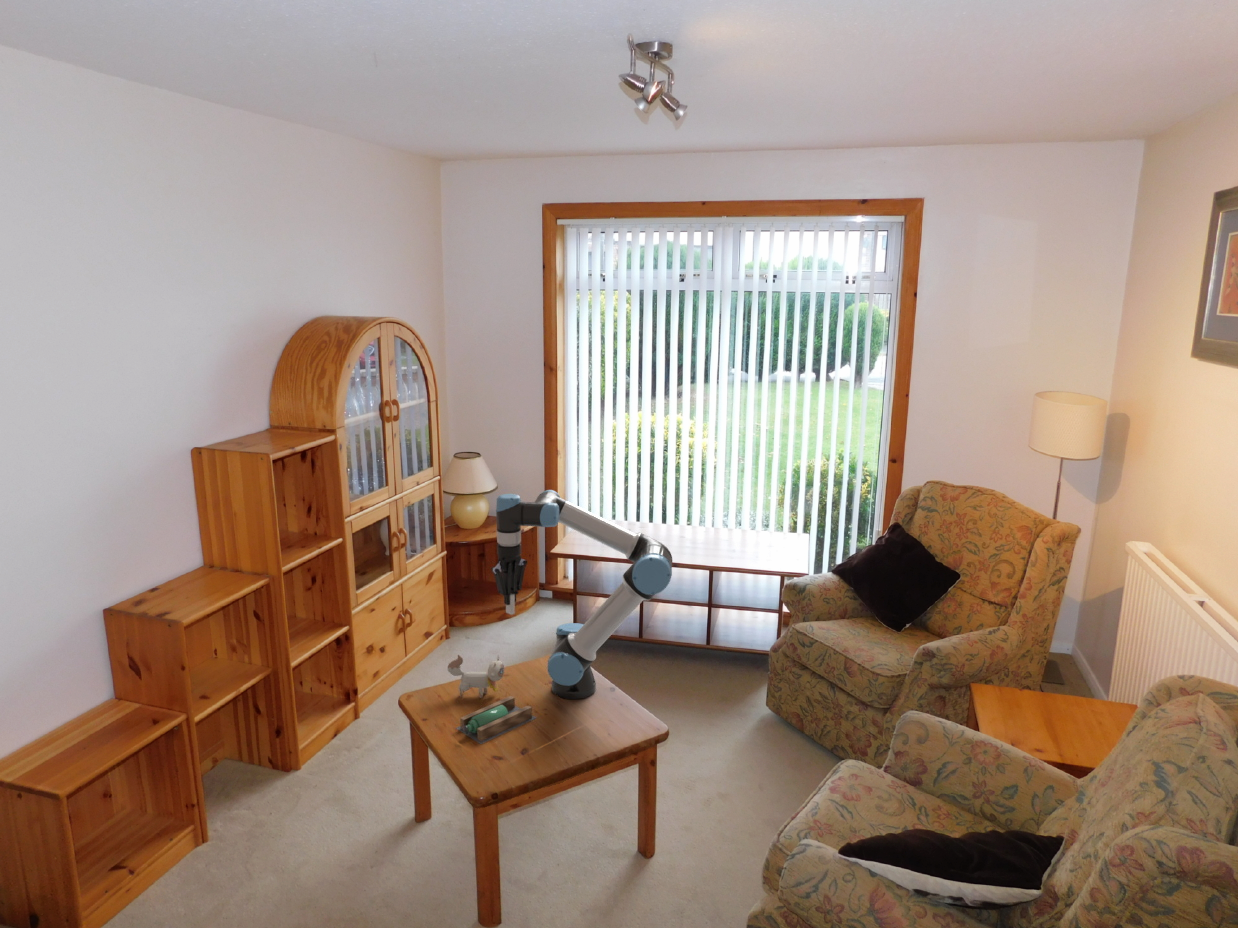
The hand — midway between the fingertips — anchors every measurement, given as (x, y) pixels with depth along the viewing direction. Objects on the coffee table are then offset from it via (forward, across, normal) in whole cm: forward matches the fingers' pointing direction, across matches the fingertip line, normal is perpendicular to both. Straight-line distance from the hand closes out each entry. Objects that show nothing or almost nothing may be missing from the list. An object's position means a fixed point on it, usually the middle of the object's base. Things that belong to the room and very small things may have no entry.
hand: (510, 612), depth 267 cm
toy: (+33, +5, -13) cm, 35 cm away
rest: (+32, +11, +6) cm, 35 cm away
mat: (+32, +11, +6) cm, 35 cm away
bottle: (+29, +9, +7) cm, 31 cm away
